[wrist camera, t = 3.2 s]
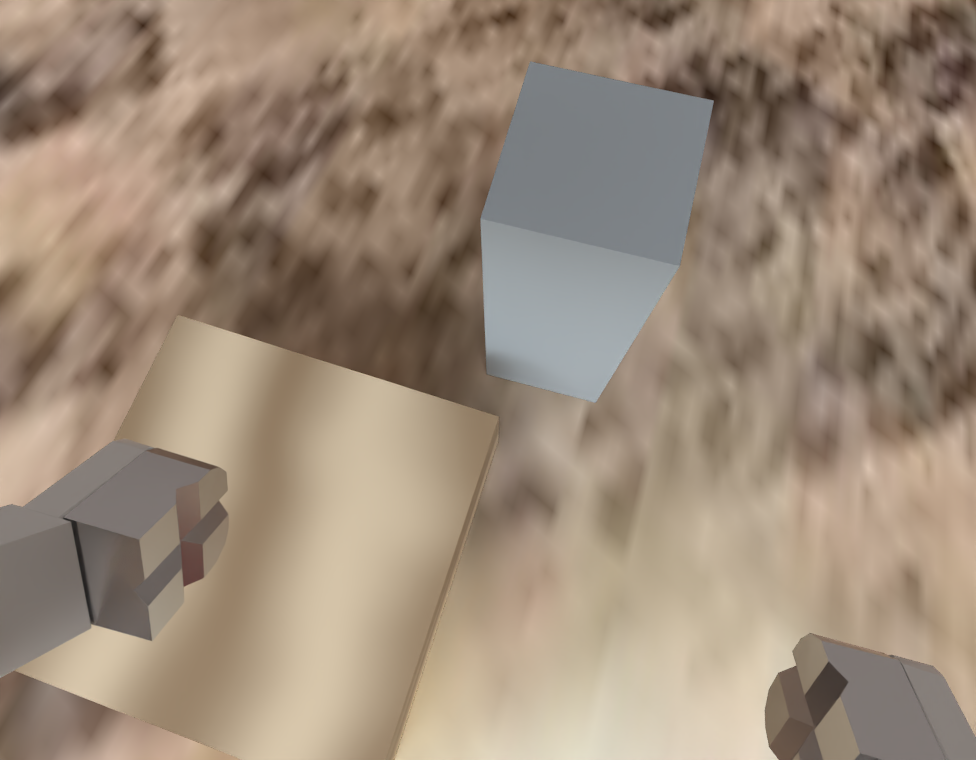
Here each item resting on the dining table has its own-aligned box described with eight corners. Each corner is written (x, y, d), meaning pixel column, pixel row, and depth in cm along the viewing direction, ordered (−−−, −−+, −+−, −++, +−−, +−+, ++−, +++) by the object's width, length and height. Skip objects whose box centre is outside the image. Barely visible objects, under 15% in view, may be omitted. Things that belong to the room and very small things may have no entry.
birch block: (498, 443, 27) (498, 416, 23) (394, 760, 24) (368, 809, 19) (230, 357, 29) (177, 315, 24) (94, 646, 25) (-1, 664, 20)
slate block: (618, 302, 29) (713, 100, 16) (595, 402, 27) (679, 266, 15) (514, 276, 29) (530, 61, 17) (486, 374, 28) (480, 218, 15)
